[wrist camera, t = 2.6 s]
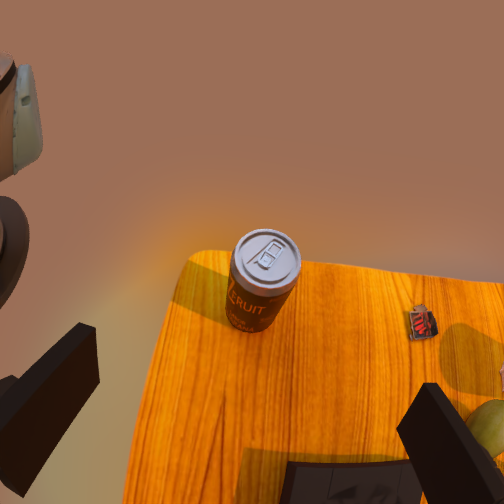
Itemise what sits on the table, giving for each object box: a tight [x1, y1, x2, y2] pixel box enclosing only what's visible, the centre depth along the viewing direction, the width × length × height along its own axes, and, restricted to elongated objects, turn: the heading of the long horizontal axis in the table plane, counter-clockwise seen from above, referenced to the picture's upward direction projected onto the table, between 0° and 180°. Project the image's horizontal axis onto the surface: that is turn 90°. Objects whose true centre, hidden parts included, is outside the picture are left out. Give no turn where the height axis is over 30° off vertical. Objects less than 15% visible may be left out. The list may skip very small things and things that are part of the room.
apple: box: [465, 399, 504, 458], centre depth 23 cm, size 8×9×8 cm
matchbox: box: [410, 304, 438, 342], centre depth 33 cm, size 5×5×1 cm
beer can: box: [225, 229, 301, 333], centre depth 27 cm, size 5×5×12 cm
